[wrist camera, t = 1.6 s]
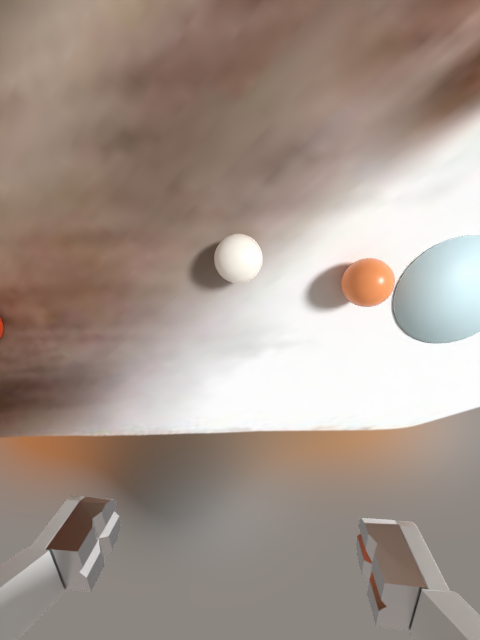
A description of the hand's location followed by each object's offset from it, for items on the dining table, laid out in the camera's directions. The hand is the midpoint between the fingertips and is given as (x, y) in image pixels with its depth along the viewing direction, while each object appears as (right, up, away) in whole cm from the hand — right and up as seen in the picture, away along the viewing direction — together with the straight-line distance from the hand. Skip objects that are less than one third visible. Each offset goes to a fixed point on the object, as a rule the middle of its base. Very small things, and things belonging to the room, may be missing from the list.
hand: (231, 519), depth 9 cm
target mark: (+27, +10, +24) cm, 37 cm away
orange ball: (+15, +11, +22) cm, 28 cm away
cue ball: (0, +14, +21) cm, 25 cm away
